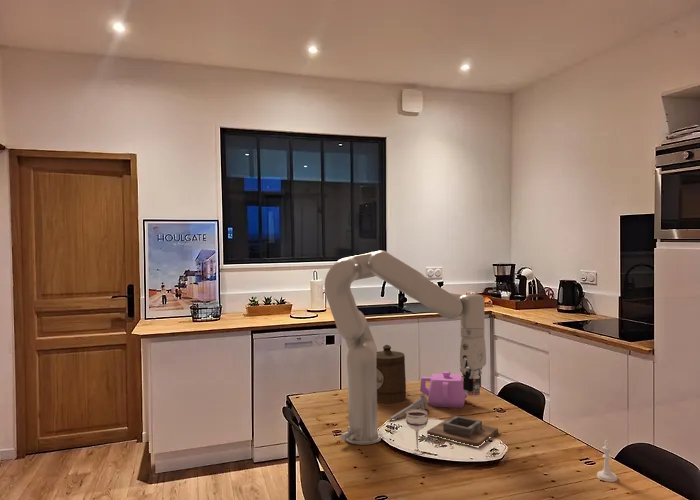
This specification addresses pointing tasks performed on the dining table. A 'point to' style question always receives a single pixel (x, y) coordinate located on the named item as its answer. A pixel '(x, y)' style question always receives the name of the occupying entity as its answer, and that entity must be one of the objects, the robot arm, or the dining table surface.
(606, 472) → the chess piece
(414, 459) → the dining table surface
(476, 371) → the pill bottle
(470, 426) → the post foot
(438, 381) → the teakettle
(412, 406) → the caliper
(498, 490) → the dining table surface
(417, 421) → the wineglass
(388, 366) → the wooden container
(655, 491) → the dining table surface
